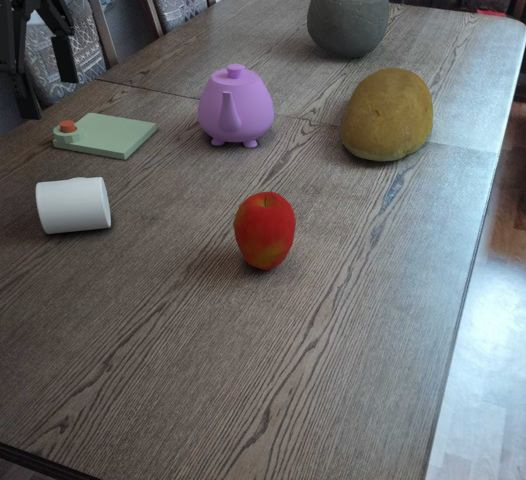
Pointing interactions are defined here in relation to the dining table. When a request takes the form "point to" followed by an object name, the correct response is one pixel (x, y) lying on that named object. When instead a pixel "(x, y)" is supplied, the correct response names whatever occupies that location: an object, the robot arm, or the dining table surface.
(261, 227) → the apple
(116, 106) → the dining table surface
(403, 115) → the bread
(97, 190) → the mug
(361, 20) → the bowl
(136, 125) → the scale
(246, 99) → the teapot
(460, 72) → the dining table surface
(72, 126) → the scale button
